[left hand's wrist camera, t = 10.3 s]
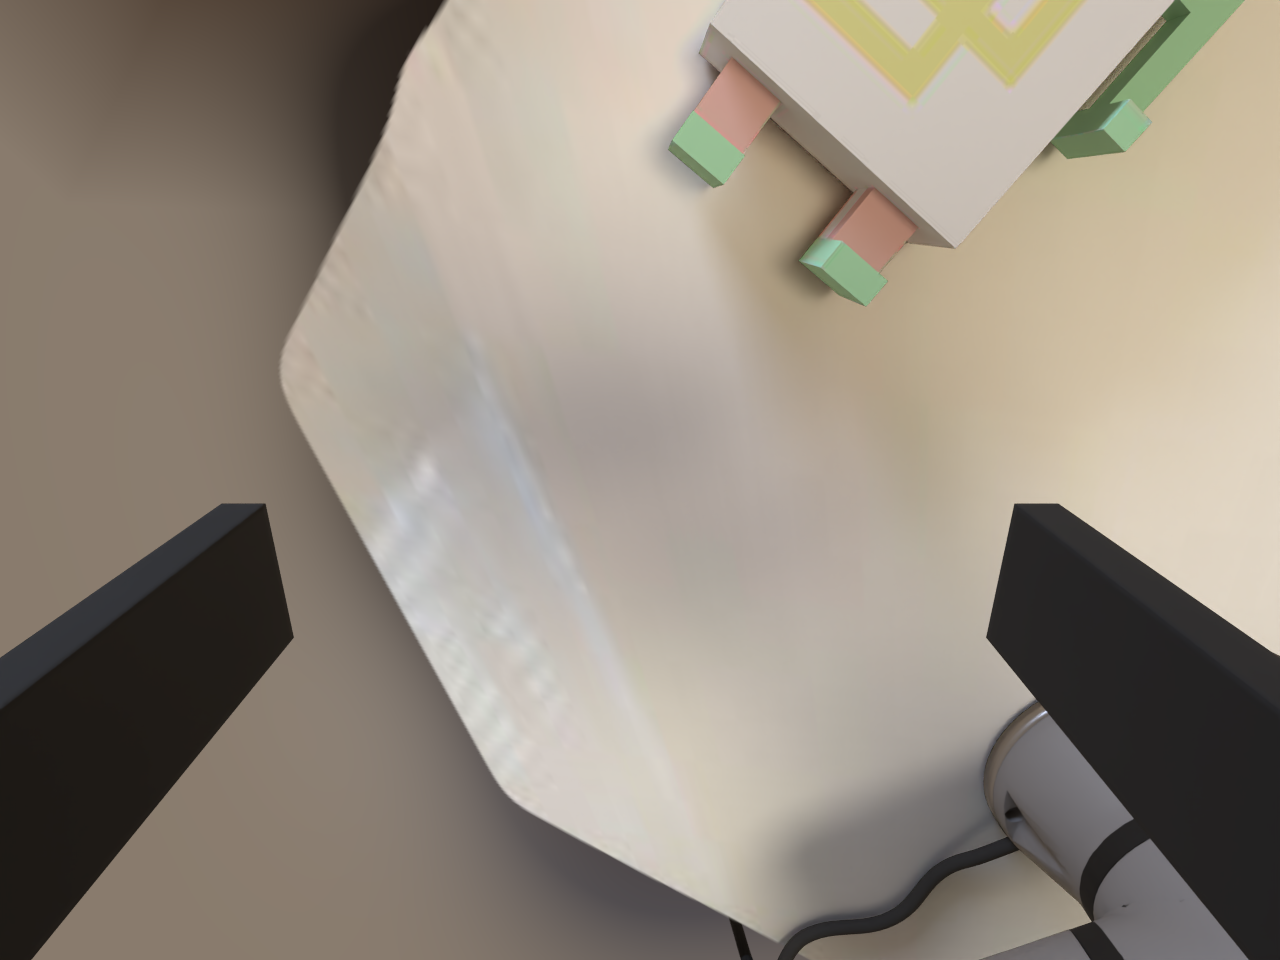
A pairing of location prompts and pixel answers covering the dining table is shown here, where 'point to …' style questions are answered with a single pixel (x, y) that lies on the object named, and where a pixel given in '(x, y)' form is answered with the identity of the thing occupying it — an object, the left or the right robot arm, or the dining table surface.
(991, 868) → the dining table surface
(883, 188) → the decorative block
